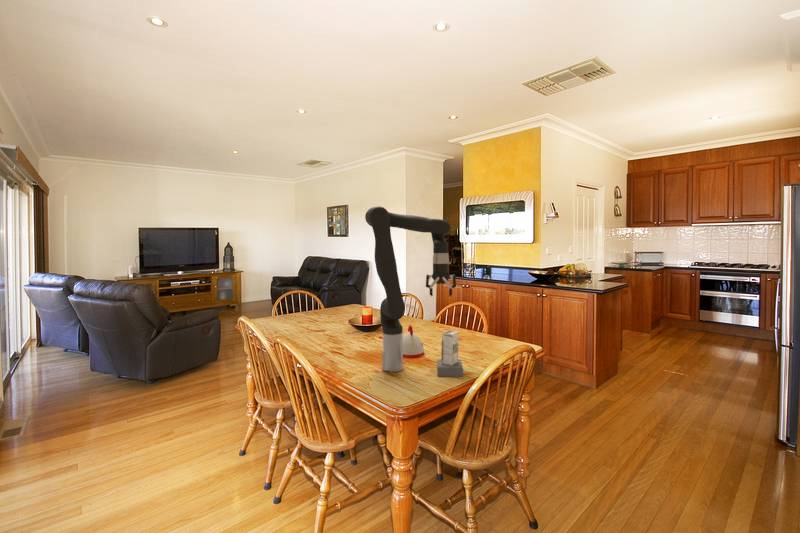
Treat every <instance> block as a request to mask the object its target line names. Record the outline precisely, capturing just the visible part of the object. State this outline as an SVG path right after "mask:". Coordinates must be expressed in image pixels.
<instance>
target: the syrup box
mask: <svg viewBox="0 0 800 533" xmlns="http://www.w3.org/2000/svg"><path fill="white" fill-rule="evenodd" d="M440 359H441V363H442V364H446V365H451V366H453V365H454V364H456V363H458V360H459V331H455V330H451V329H450V330H445V331H443V332H441V358H440Z"/></svg>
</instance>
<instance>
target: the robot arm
mask: <svg viewBox="0 0 800 533" xmlns="http://www.w3.org/2000/svg"><path fill="white" fill-rule="evenodd" d="M364 218H365V222H366V223H367V225H369V226H370V227H371V228H372V230H373V235H374V243H375V244H374V263H375V268H376V273H377V276H378V278H379V281H380V282H381V285H382V286H383V288H384V291H385V292H384V293H385V296H386V298H384V299H383V300H382V301H381V303H380V308H379V310H380V313H379V314H380V327H381V329H382V353H381V354H382V362H381V363H382V371H385V372H390V373H392V372H400V371H402V370H403V369H404V357H403V335H404V334H403V332H404V331H403V330H404V329H403V326H402V324H401V322H400V320H401V319H402V318H403V317H404V315H405V313H406V305H405V301H404V297H403V294H402V290H401V285H400V278H399V273H398V267H397V262H396V261H397V260H396V255H395V250H394V245H393V240H392V234H391V228H397V229H403V230H407V231H410V232H411V231H412V232H417V233H418V232H419V233H429V234H431V239H432V243H433V247H432V248H433V249H432V250H433V251H432V252H433V254H432V274H426V276H425V278H426V280H425V287H426V288H428V289H429V296H430V297H433V295H434V294H433V291H434V290H433V288H434V286H435V285H436V284H437V285H440V284H442V285H444V284H446V285H447V286H448V297H451V296H452V295H453V289H454V288H456V287H457V281H456V277H457V276H456V275H455V274H450V271H449V270H450V268H449V267H450V266H449V265H450V257H449V242H448V240H446V236H447V235H448V234H449V233H450V231H451V229H452V228H451V227H452V226H451V224H450V222H449V221H447V220H446V219H439V218H430V217H426V216H425V217H424V216H419V215H412V214H399V213H394V212H389V211H388V210H387V209H386V208H385V207H383V206H380V205H379V206H373V207H369V209H367V211H366V213H365V216H364ZM431 278H432V279H433V282H432V283H431V284H429V283H430V282H429V281H430V280H431ZM449 279H451V280H452V285H451V283H450V282H449Z"/></svg>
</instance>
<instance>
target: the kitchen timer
mask: <svg viewBox="0 0 800 533" xmlns="http://www.w3.org/2000/svg"><path fill="white" fill-rule="evenodd" d="M424 355H425V350H424V342H423V340H421V338H420V337H419V335H418V334H417V333H415V332H414V330H413V327H412V325H409V326H408V328H407V332H406V333H404V334H403V359H404V358H405V359H416V358H421V357H422V356H424Z"/></svg>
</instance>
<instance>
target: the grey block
mask: <svg viewBox="0 0 800 533" xmlns="http://www.w3.org/2000/svg"><path fill="white" fill-rule="evenodd" d="M463 369H464V368H463V364H462V360H461V359H458V363H456V364H454V365H453V366H451V365H446V364H442V363H441V358H439V359H438V358H437V359H436V370H437V371H436V372H437V373H436V374H437V375H436V376H437V377H456V378H457V377H461V378H462V377H464V376H463V375H464V372H463Z"/></svg>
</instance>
